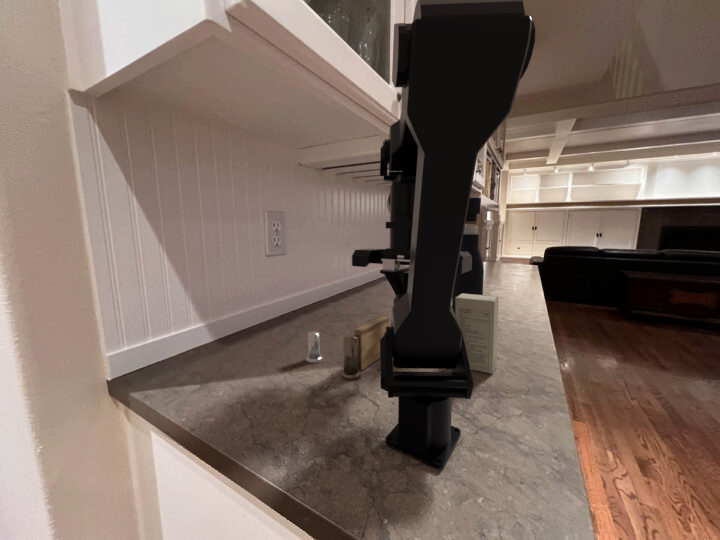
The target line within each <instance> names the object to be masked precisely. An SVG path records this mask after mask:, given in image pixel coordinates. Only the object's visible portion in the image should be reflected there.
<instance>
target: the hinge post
mask: <svg viewBox="0 0 720 540" xmlns="http://www.w3.org/2000/svg"><path fill="white" fill-rule="evenodd" d="M342 347H343V349H342V352H343V369H342V370H341V371H340V375H341V379H343V380H345V381H355V380H359V379H360V378H361V377H362V370H360V369H358V336H357V335H355V333H354V334H353V333H348V334H345V335H343V337H342Z"/></svg>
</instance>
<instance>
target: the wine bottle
mask: <svg viewBox="0 0 720 540" xmlns="http://www.w3.org/2000/svg"><path fill="white" fill-rule="evenodd" d="M481 205H482V198H481V197H470V200H469V206H468V211H467V217H466V223H465V228H464V234H463V240H462V245H461V251H464V252H469V254H470V255H471V257H472V270H470V271H468V272H465V273H463V274H456V279H455V285H454V291H453V297H452V302H451V306H452V308H453V310H454V313H455V298H456V297H457V296H459V295H460V294H462V293H464V294H475V295H484V277H485V275H484V274H485V268H484V263H483V262H484V261H483V257H482V254H481V252H480V246H479V245H480V235H479V234H478V233H479V230H478V229H479V227H478V225H474V224H477V223H478V222H477V220H478V216H477V215H479V214H481V210H482V209H481V208H482V206H481ZM471 224H472V225H471Z"/></svg>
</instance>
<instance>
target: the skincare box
mask: <svg viewBox="0 0 720 540" xmlns="http://www.w3.org/2000/svg"><path fill="white" fill-rule="evenodd" d="M455 316H456V318H457V321H458V323H459V326H460V328H461V330H462V333H463V337H464V342H465V347H466V352H467V356H468V361H469V366H470V370H473V371H477V372H482V373H487V374H491V375H493V374H494V371H495V369H496V368H497V362H498V335H499V333H498V329H499V328H498V327H499V326H498V325H499V296H498V295H497V296H496V295H486V294H483V295H475V294H464V293H462V294H460V295H459V296H457V297H456V298H455Z"/></svg>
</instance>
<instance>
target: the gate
mask: <svg viewBox="0 0 720 540" xmlns="http://www.w3.org/2000/svg"><path fill="white" fill-rule="evenodd" d="M386 326H390V317H389V316H383V315H382V316H380V317H378V318H376V319H373V321H370V322H368V323H366V324H363V325H361V326H359V327H357V328H355V329H354V334H355V335H357V336H358V369H360V370H361V371H363V370H365V369H367V368H368V367H369V366H370V365H371V364H374V363H375V362H376V361H378V360H379V359H380V339H381V338H382V337H383V336H384V332H386Z"/></svg>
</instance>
